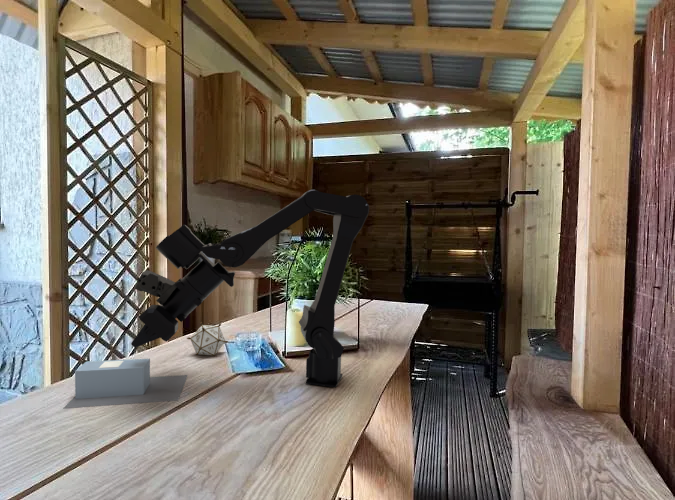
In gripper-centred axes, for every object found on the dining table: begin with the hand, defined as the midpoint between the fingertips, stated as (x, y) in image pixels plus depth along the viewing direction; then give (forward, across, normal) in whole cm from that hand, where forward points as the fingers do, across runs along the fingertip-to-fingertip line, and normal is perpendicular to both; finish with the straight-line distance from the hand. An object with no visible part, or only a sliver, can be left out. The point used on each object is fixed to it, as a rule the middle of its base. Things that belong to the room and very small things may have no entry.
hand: (133, 345), depth 72 cm
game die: (-2, -19, +15) cm, 24 cm away
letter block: (+3, 0, +6) cm, 6 cm away
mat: (+6, 0, +6) cm, 9 cm away
